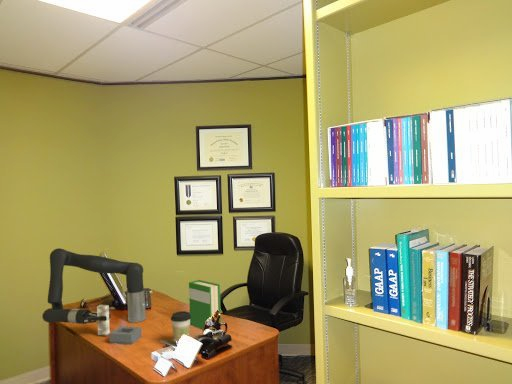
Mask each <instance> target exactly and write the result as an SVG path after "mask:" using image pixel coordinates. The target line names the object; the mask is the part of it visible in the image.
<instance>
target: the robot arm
mask: <svg viewBox="0 0 512 384" xmlns="http://www.w3.org/2000/svg"><path fill="white" fill-rule="evenodd" d="M49 266H50V267H49V268H50V270H49V273H50V274H49V275H50V276H49V284H48V285H49V286H48V292H47V303H48V304H50V305H51V308H48V309H46V310H45V311H44V312H43V313H42V319H43V322H46V323H69V324H70V323H71V324H77V325H78V324H80V325H81V324H82V325H86V324H91V323H92V324H93V323H97V321H106V320H107V317H106V316H100V317H99V316H97V311H92V312H91V310H90V309H89V308H64V307H63V306H64V305H63V301H62V300H63V292H64V281H63V280H64V279H63V278H64V277H63V275H64V273H63V272H64V267H65V266H67V267H75V268H79V269H82V270H85V271H88V272H91V273H92V272H94V273H97V274H98V273H99V274H119V275H123V276H125V279H126V283H125V284H126V290H127V293H126V294H127V297H126V298H127V316H128V317H127V320H128V322H129V323H131V324H132V323H139V322H142V321H145V320H146V319H147V317H146V303H145V295H144V294H145V293H144V292H145V289H144V287H145V286H144V276H143V274H144V267H143V265H142V264H140V263H139V262H129V261H121V260H117V259H113V258H110V257H104V256H100V255H93V254H80V253H79V254H78V253H75V252H72V251H69V250H67V249H64V248H55V249H53V250H52V251H51V252H50V254H49ZM109 319H111V313H109Z"/></svg>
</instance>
